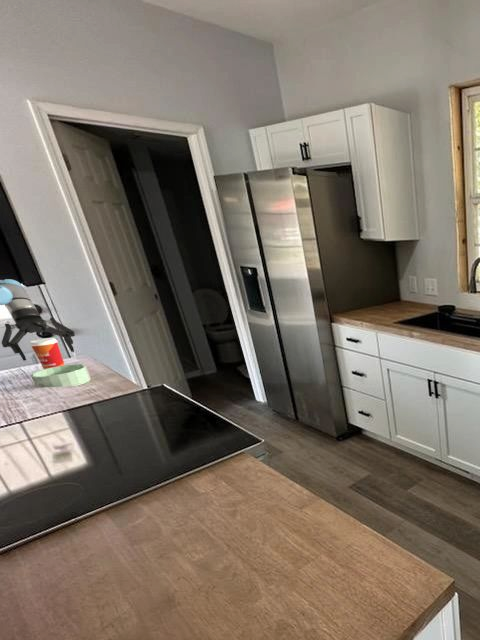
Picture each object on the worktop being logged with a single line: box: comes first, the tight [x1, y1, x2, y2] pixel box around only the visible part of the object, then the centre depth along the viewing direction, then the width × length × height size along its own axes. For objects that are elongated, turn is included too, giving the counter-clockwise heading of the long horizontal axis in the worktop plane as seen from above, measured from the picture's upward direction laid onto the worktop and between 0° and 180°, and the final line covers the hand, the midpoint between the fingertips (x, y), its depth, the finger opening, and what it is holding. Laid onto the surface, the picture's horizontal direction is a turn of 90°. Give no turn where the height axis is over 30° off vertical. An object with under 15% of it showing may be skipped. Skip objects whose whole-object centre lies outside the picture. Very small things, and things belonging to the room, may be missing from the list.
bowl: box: [30, 363, 92, 389], centre depth 155 cm, size 14×14×6 cm
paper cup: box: [29, 337, 66, 369], centre depth 165 cm, size 8×8×14 cm
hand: (49, 354), depth 165 cm, fingers open, 13 cm apart
